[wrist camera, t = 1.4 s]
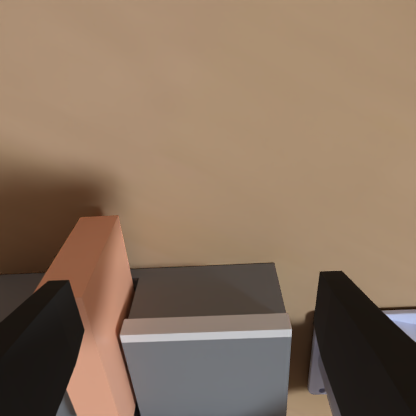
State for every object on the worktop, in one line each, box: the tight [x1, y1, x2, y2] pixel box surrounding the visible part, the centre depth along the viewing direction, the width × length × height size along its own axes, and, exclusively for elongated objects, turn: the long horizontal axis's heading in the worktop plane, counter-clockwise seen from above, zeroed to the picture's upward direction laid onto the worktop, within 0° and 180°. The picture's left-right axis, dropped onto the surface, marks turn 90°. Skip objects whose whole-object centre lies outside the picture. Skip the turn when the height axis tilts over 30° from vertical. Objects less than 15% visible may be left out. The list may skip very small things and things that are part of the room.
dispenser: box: [0, 263, 292, 416], centre depth 21 cm, size 19×14×10 cm
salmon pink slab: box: [34, 215, 137, 416], centre depth 19 cm, size 2×10×6 cm, turn 4°
